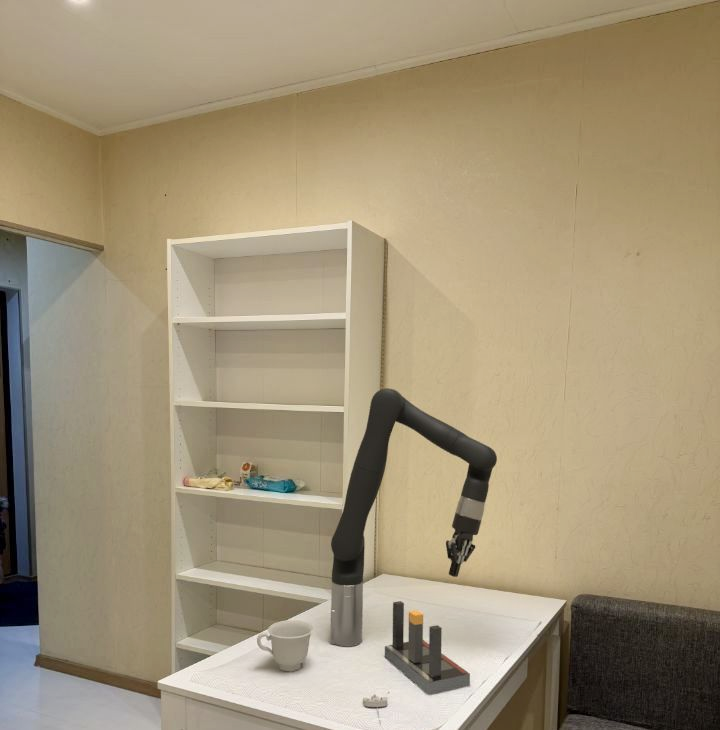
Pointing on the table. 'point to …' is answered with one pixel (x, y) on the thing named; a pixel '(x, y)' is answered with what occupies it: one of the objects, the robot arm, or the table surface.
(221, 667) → the table surface
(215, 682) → the table surface
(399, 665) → the pillared base stand
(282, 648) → the teacup
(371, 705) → the game controller
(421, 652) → the lever
